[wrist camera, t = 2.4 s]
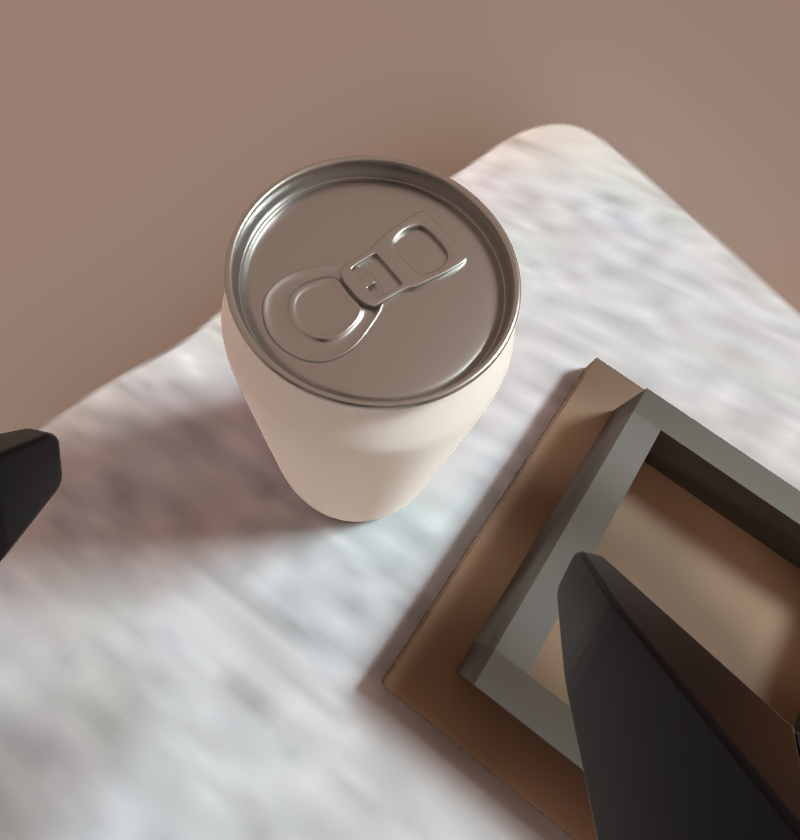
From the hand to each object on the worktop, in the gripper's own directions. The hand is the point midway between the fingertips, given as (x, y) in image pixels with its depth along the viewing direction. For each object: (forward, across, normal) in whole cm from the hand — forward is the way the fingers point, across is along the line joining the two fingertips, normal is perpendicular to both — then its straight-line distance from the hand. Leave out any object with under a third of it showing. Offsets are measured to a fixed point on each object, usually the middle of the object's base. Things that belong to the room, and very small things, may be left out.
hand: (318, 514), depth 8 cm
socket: (+8, -13, +8) cm, 17 cm away
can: (+11, 0, +5) cm, 12 cm away
